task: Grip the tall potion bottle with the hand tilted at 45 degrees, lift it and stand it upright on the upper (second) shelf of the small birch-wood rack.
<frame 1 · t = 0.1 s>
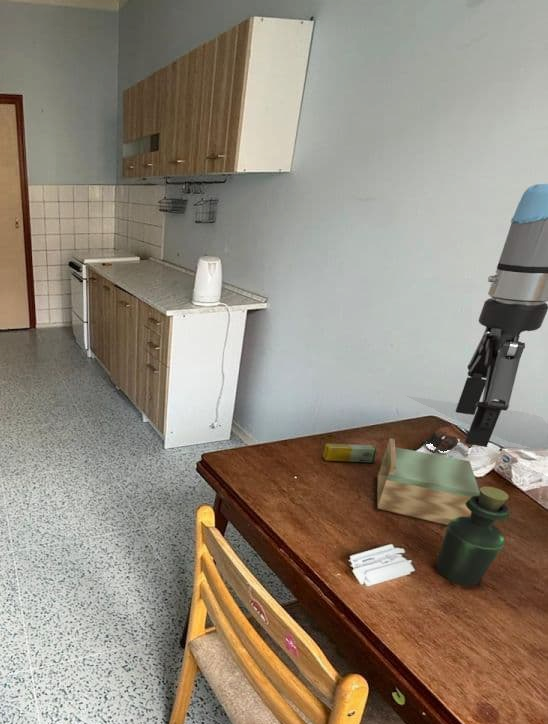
hand: (469, 427, 80), 27 cm above the table, tool pointing down, fingers open, 13 cm apart
pottery mug: (445, 452, 126), on the table
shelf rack: (417, 501, 107), on the table
medication box: (347, 460, 123), on the table
potion bottle: (456, 574, 87), on the table
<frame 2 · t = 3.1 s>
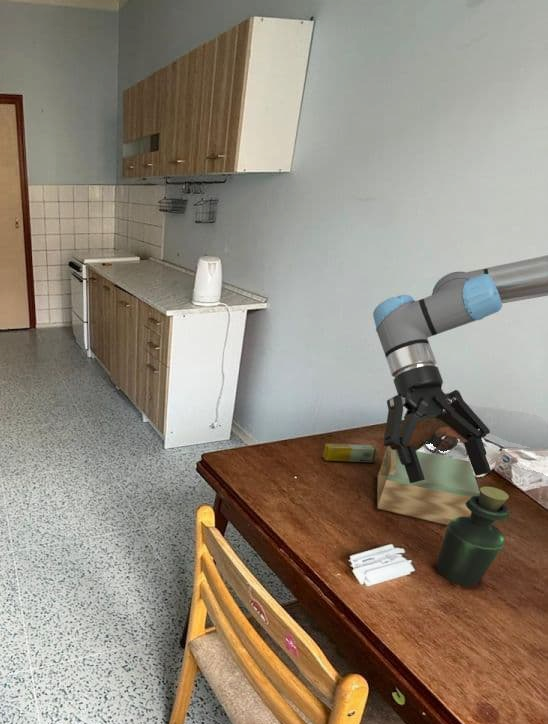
hand: (450, 478, 86), 16 cm above the table, tool tilted 45°, fingers open, 13 cm apart
nothing on the table moved.
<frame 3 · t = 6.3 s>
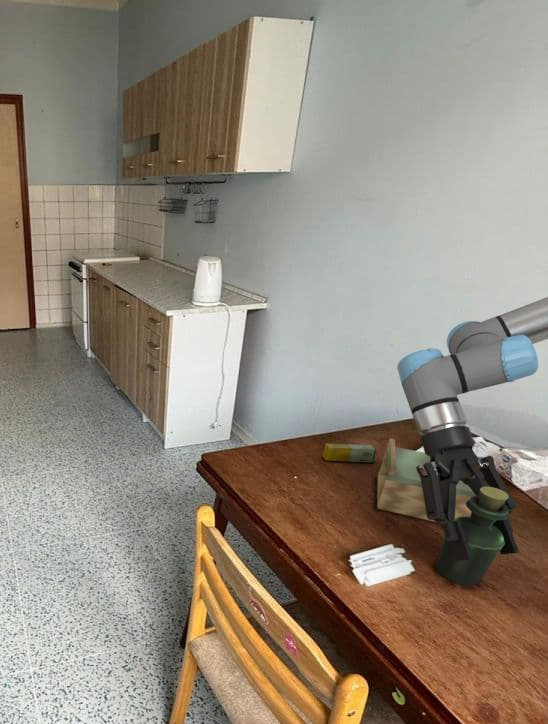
hand: (487, 556, 80), 7 cm above the table, tool tilted 45°, fingers closed on potion bottle, 8 cm apart
potion bottle: (456, 574, 87), on the table, touching gripper
everything else where it was.
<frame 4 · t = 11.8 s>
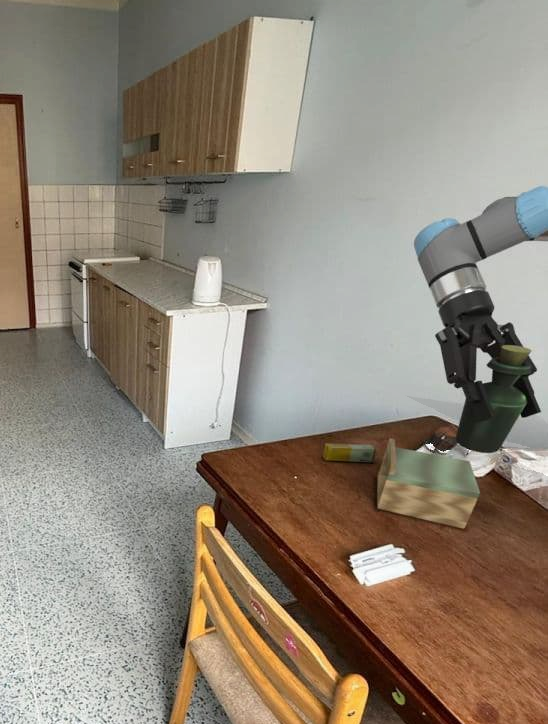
hand: (509, 417, 79), 29 cm above the table, tool tilted 45°, fingers closed on potion bottle, 8 cm apart
potion bottle: (476, 445, 85), point 21 cm above the table, touching gripper
everything else where it was.
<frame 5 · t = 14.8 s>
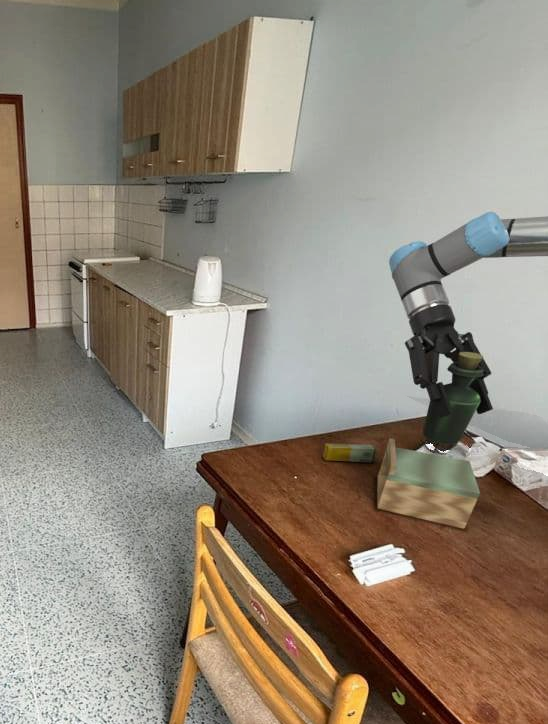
hand: (465, 413, 93), 23 cm above the table, tool tilted 45°, fingers closed on potion bottle, 8 cm apart
potion bottle: (440, 438, 99), point 16 cm above the table, touching gripper
everything else where it was.
when the fingers open (16 cm above the table, at t = 17.3 s): potion bottle stays where it is, resting on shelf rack.
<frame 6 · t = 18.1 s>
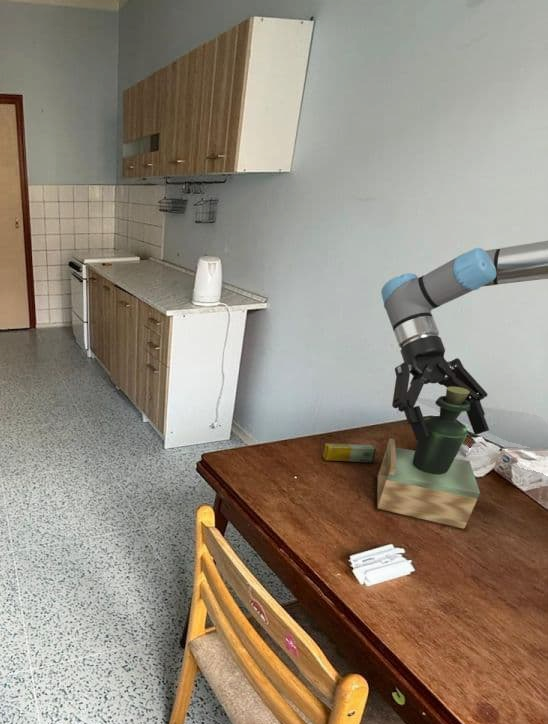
hand: (452, 435, 96), 18 cm above the table, tool tilted 45°, fingers open, 13 cm apart
potion bottle: (429, 467, 102), point 9 cm above the table, touching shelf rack
everything else where it was.
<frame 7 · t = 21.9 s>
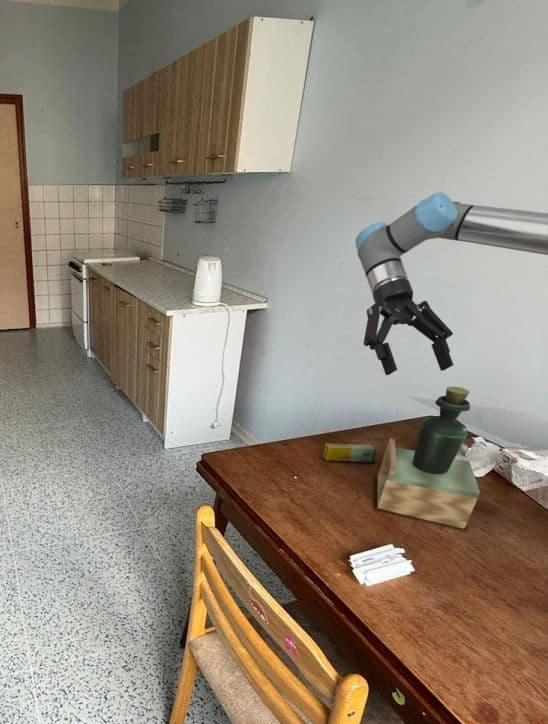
hand: (419, 370, 103), 27 cm above the table, tool tilted 45°, fingers open, 13 cm apart
nothing on the table moved.
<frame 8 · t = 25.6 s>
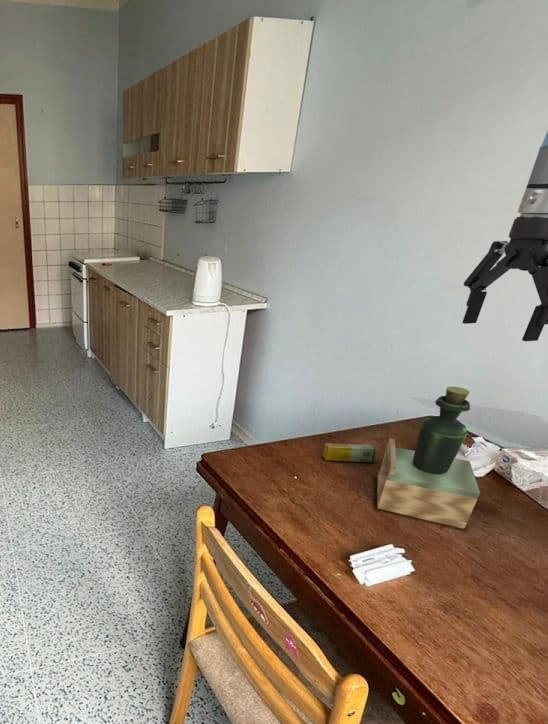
hand: (497, 331, 96), 37 cm above the table, tool pointing down, fingers open, 13 cm apart
nothing on the table moved.
at the end: potion bottle inside the target area on the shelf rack (0.1 cm from its centre), point 8.8 cm above the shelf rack's base; potion bottle tilted 0°; the gripper is holding nothing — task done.
